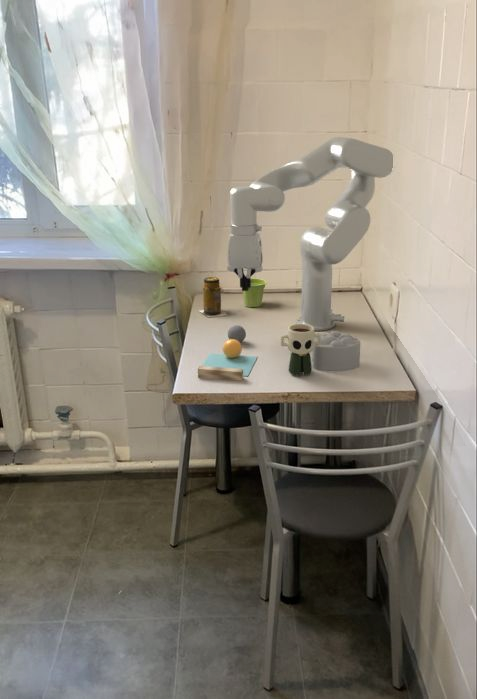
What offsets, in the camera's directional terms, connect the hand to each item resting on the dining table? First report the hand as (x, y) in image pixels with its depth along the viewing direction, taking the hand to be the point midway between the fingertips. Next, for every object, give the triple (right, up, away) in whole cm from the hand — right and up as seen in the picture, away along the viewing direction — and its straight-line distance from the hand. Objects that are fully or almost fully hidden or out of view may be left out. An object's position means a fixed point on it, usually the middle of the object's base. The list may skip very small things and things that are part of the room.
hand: (245, 289), depth 201 cm
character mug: (+15, -25, -22) cm, 36 cm away
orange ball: (-4, -18, -12) cm, 22 cm away
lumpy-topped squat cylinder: (+25, -23, -16) cm, 37 cm away
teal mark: (-5, -22, -16) cm, 28 cm away
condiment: (-11, -6, +27) cm, 30 cm away
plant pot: (+3, -3, +35) cm, 35 cm away
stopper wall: (-7, -26, -24) cm, 36 cm away
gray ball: (-3, -14, -1) cm, 14 cm away
